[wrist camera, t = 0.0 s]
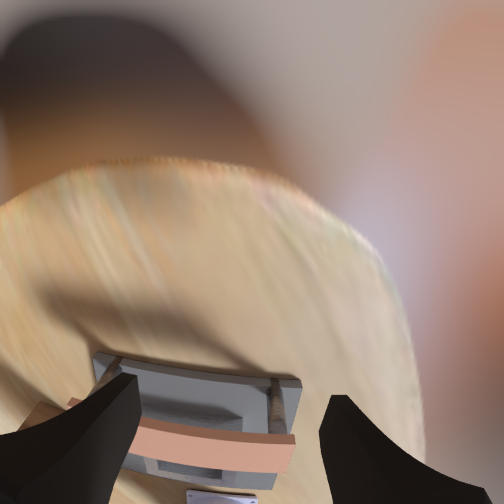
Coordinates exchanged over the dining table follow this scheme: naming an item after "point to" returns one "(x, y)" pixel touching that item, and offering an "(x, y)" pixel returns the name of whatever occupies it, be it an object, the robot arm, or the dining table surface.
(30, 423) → the walnut peg
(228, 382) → the socket board
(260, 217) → the dining table surface
